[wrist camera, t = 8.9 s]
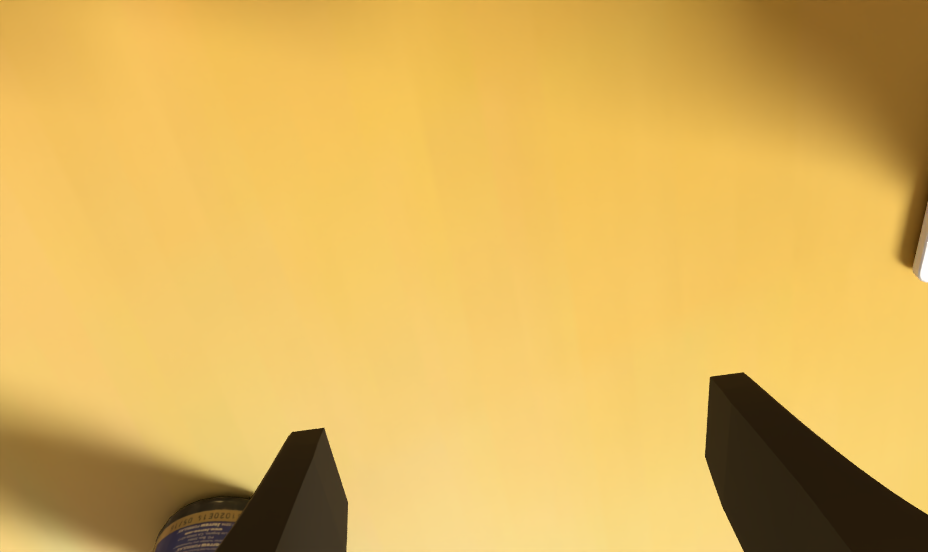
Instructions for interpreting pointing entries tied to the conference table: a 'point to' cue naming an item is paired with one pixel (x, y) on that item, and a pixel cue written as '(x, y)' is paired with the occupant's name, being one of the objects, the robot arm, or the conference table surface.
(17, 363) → the conference table surface
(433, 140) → the conference table surface
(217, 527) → the pill bottle
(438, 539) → the conference table surface
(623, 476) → the conference table surface
